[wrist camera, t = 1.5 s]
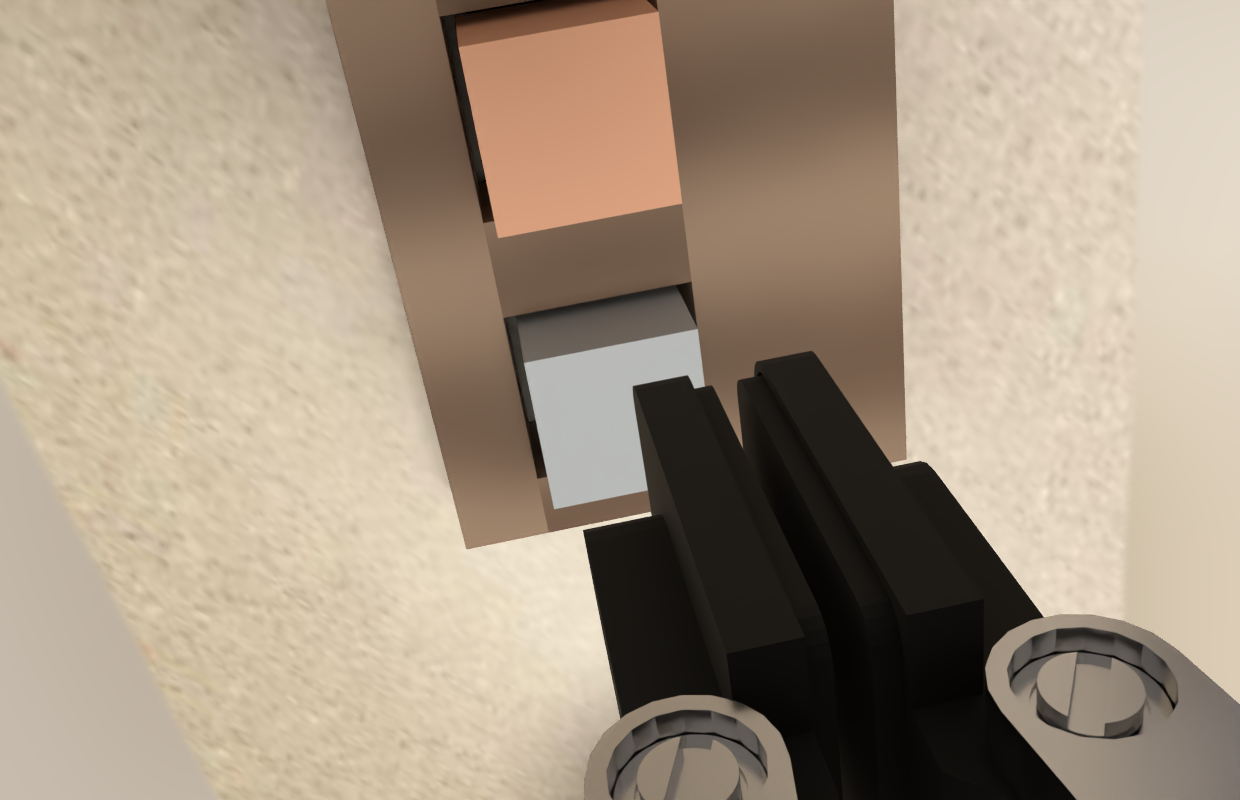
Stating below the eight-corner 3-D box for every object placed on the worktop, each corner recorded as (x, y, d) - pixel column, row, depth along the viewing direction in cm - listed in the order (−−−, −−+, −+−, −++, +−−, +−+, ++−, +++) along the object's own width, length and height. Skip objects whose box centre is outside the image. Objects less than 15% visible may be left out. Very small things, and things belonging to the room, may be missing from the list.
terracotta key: (455, 16, 26) (458, 47, 23) (631, -15, 26) (658, 11, 23) (490, 188, 28) (498, 238, 25) (654, 158, 28) (682, 203, 25)
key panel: (229, -449, 23) (199, -483, 20) (826, -538, 23) (882, -585, 20) (463, 489, 33) (466, 555, 30) (869, 407, 34) (910, 465, 31)
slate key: (513, 302, 29) (523, 363, 26) (669, 272, 29) (697, 329, 26) (541, 438, 31) (554, 509, 28) (687, 408, 31) (715, 476, 28)
